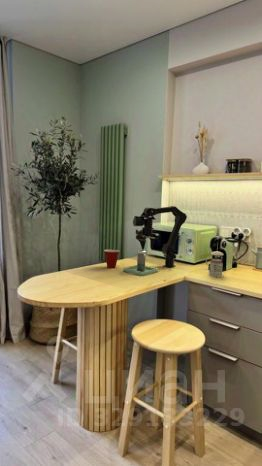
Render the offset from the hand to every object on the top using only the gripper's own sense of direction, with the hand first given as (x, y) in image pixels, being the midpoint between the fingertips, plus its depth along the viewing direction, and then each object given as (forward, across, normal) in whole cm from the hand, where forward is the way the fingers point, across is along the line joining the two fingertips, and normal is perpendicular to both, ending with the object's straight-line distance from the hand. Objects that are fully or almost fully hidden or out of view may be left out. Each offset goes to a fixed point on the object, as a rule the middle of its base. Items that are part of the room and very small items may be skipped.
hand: (147, 248), depth 218 cm
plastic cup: (+13, +18, -16) cm, 27 cm away
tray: (+13, +12, +5) cm, 18 cm away
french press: (+13, -19, +41) cm, 47 cm away
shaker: (+12, +12, +5) cm, 18 cm away
